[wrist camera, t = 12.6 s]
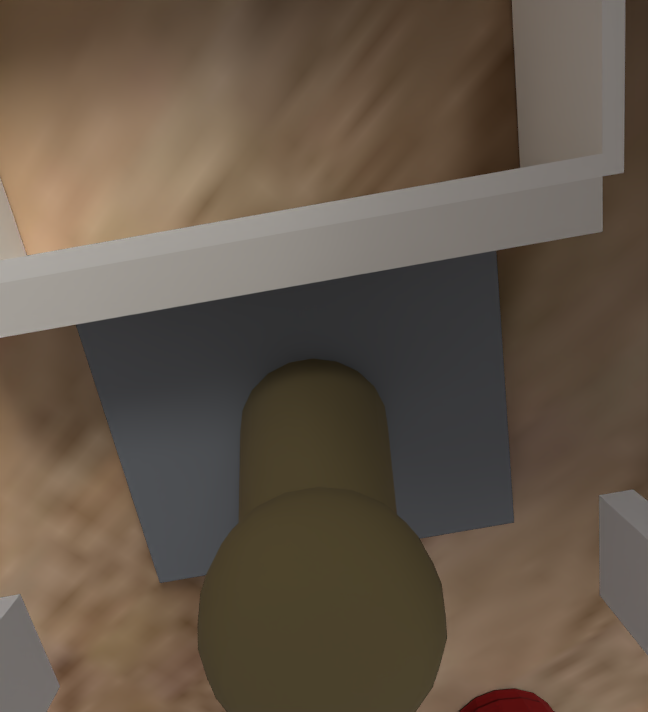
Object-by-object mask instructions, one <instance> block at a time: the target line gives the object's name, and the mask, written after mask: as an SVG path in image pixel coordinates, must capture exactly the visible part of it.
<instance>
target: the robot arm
mask: <svg viewBox="0 0 648 712" xmlns="http://www.w3.org/2000/svg"><path fill="white" fill-rule="evenodd" d="M599 564H600V596H601V598H602V599H603V600H604V601H605V603H606V604H607V605H608V606H609V608H610V609H611V610H612V611H613V613H614V614H615V615H616V616H617V618H618V619H619V620H620V621H621V623H622V624H623V625H624V626H625V628H626V629H627V630H628V631H629V633H630V634H631V635H632V636H633V638H634V639H635V640H636V641H637V643H638V644H639V645H640V646H641V648H642V649H643V650H644V651H645V653H646V654H647V655H648V501H647V500H646V499H645V498H643V497H642V496H641V495H640V494H638V493H637V492H636V491H635V490H633V489H632V490H627V491H621V492H615V493H609V494H603V495H599ZM59 687H60V685H59V683H58V681H57V678H56V676H55V674H54V671H53V669H52V667H51V664H50V662H49V660H48V657H47V655H46V653H45V650H44V648H43V646H42V644H41V641H40V639H39V637H38V634H37V632H36V630H35V627H34V625H33V623H32V620H31V618H30V616H29V613H28V611H27V609H26V606H25V604H24V602H23V599H22V597H21V595H20V594H18V595H12V596H6V597H0V712H47V710H48V708H49V706H50V704H51V702H52V700H53V699H54V697H55V695H56V693H57V691H58V689H59Z"/></svg>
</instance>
